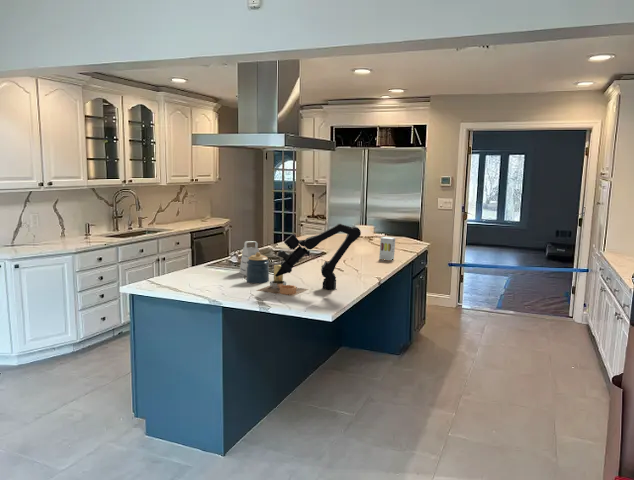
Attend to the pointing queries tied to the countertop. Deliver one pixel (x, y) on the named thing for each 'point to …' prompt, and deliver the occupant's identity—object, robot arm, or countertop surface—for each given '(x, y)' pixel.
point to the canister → (257, 269)
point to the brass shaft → (279, 278)
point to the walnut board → (277, 291)
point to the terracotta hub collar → (288, 289)
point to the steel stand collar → (276, 285)
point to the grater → (247, 256)
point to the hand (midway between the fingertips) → (275, 275)
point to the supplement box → (387, 248)
